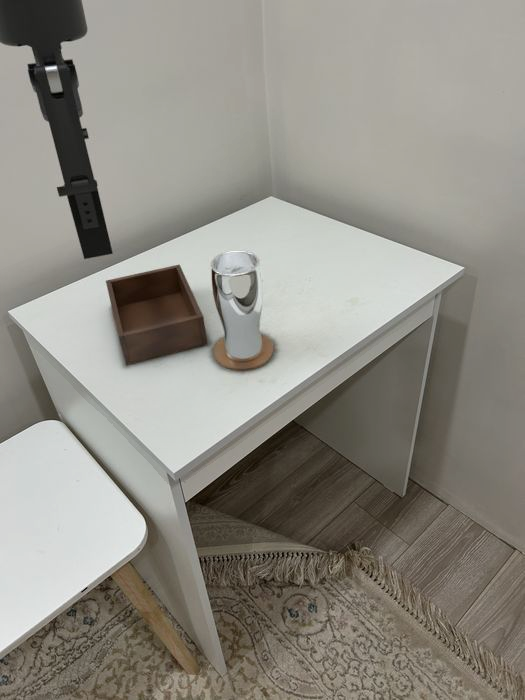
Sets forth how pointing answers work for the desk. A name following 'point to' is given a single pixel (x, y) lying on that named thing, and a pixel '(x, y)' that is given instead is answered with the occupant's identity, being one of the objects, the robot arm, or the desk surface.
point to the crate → (155, 314)
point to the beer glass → (239, 302)
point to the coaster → (244, 365)
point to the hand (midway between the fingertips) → (91, 226)
